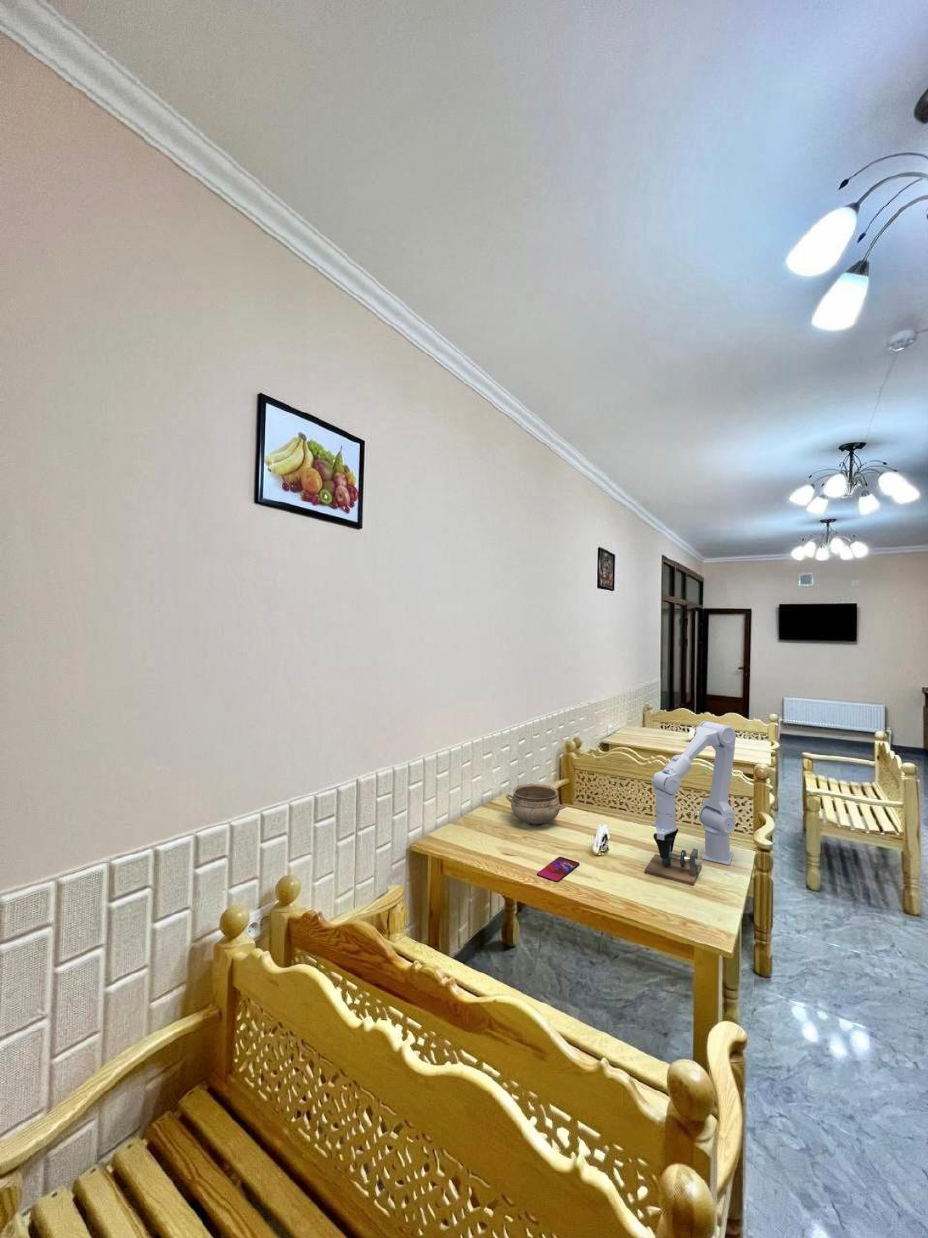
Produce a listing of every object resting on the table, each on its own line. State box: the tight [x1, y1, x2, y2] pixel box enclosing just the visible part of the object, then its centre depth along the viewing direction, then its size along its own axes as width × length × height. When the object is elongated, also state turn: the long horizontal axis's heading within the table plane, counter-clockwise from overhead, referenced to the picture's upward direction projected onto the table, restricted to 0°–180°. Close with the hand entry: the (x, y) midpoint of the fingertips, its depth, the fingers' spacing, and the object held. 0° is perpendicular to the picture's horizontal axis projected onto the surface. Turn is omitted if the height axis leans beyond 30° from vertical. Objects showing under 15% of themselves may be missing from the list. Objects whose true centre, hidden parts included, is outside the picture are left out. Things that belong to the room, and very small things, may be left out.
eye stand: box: [644, 847, 702, 887], centre depth 158 cm, size 13×14×7 cm
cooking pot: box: [505, 783, 568, 827], centre depth 197 cm, size 25×19×12 cm
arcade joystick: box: [662, 845, 703, 868], centre depth 156 cm, size 5×11×8 cm, turn 55°
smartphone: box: [536, 856, 580, 883], centre depth 159 cm, size 8×1×15 cm
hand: (666, 854), depth 159 cm, fingers open, 5 cm apart
